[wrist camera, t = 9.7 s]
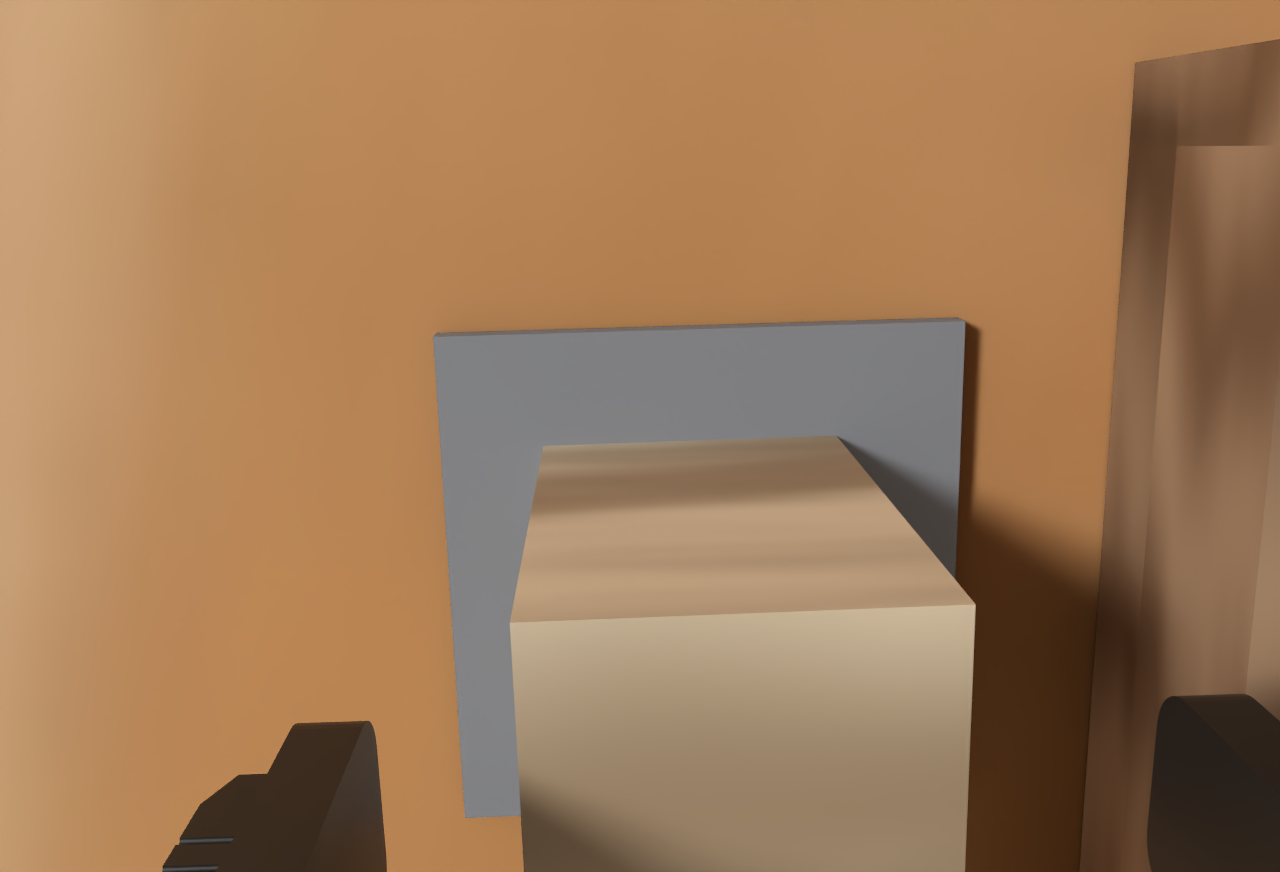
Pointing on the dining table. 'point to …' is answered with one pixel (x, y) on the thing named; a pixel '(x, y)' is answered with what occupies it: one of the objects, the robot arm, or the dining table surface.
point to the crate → (1189, 427)
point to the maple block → (736, 666)
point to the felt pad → (663, 412)
